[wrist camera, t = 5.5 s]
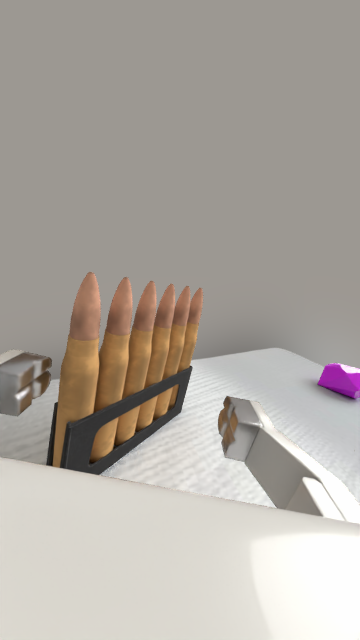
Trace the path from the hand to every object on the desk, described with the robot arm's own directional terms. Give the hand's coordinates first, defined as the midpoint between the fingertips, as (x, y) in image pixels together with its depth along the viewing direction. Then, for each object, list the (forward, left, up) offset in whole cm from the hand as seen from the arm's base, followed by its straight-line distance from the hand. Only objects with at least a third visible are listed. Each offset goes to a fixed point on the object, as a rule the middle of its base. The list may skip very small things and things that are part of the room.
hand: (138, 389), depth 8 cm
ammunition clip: (0, +4, -8) cm, 9 cm away
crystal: (+31, +20, -8) cm, 38 cm away
